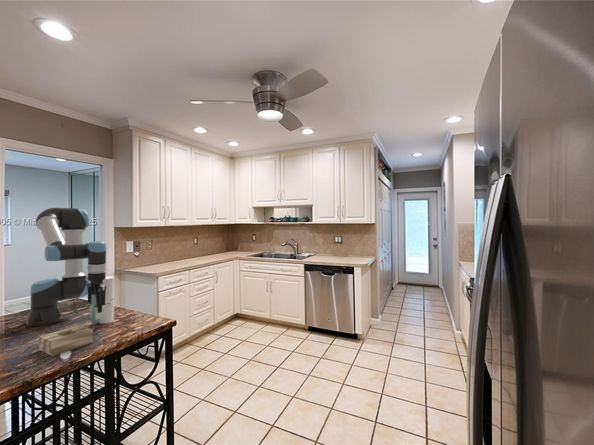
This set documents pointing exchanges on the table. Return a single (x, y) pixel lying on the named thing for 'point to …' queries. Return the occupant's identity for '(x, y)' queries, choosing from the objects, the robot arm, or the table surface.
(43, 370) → the table surface
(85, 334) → the block
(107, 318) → the cylindrical container
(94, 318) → the pin
